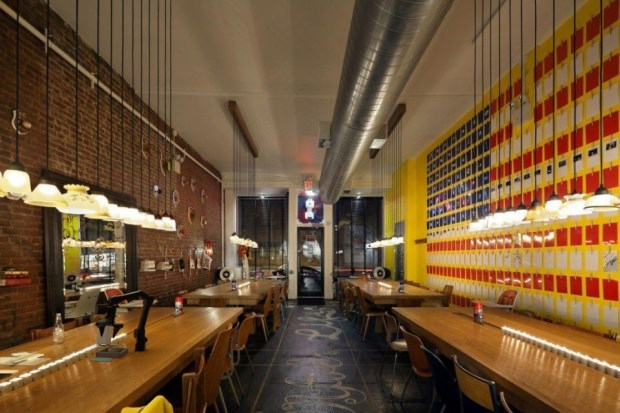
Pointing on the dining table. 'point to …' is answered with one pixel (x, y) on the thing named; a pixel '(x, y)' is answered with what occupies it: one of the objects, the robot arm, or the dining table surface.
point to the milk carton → (104, 336)
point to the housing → (112, 352)
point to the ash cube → (113, 347)
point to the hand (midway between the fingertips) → (107, 337)
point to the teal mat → (102, 359)
